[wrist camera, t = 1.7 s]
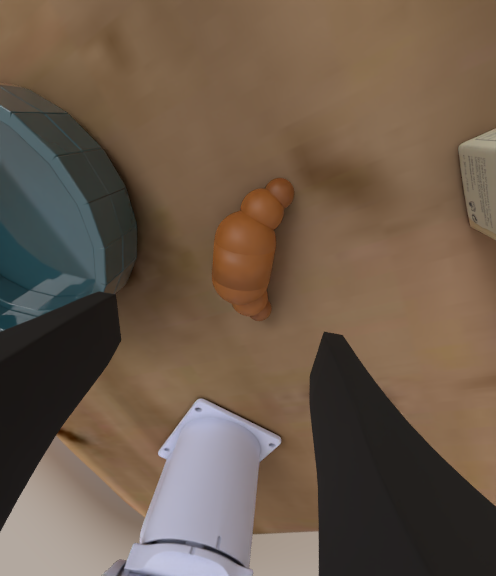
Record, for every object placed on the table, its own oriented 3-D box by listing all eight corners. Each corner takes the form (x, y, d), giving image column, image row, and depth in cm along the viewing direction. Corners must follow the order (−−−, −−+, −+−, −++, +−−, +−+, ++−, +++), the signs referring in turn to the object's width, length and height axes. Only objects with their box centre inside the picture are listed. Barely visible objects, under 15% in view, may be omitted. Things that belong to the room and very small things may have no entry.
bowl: (107, 334, 22) (74, 374, 19) (-73, 244, 20) (-148, 270, 17) (174, 173, 16) (141, 188, 12) (-80, 19, 14) (-202, -14, 11)
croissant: (215, 304, 20) (202, 334, 17) (226, 167, 15) (212, 177, 13) (269, 313, 20) (266, 346, 17) (296, 178, 15) (297, 191, 13)
